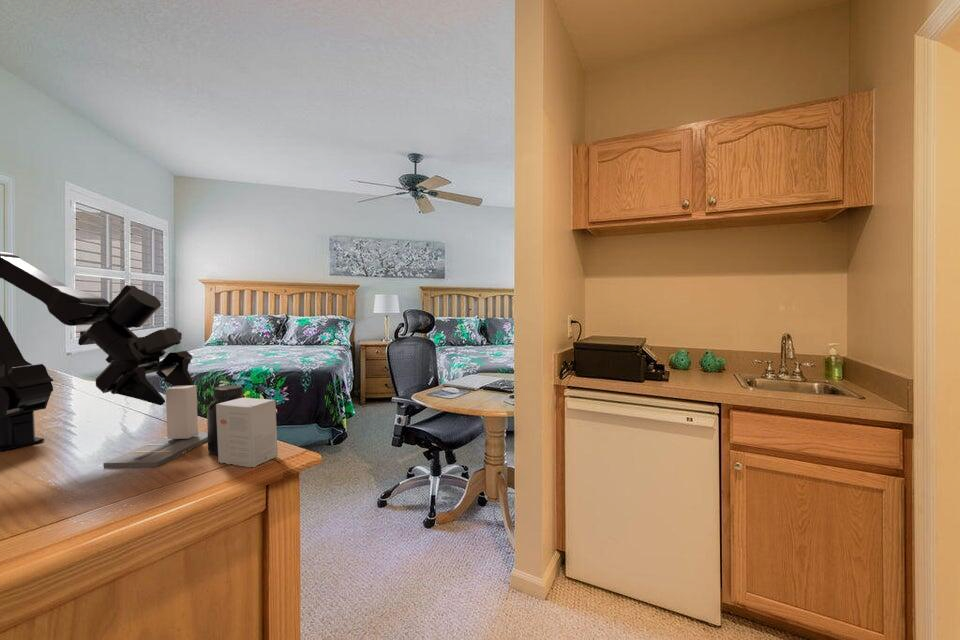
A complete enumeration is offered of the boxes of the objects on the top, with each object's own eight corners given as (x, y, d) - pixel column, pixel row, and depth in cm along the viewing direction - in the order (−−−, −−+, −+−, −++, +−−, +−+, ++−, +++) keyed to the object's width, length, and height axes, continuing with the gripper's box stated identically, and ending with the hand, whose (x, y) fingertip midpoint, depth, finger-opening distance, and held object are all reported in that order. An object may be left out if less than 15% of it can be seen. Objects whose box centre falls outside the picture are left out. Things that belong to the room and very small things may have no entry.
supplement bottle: (230, 457, 75) (228, 391, 75) (198, 455, 77) (196, 390, 76) (258, 444, 82) (256, 384, 82) (228, 442, 83) (226, 383, 83)
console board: (174, 436, 88) (174, 428, 88) (217, 435, 88) (217, 428, 88) (103, 467, 71) (103, 458, 71) (157, 466, 71) (156, 457, 71)
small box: (278, 457, 75) (276, 399, 75) (252, 468, 70) (250, 406, 70) (244, 452, 78) (243, 396, 77) (217, 463, 73) (215, 403, 72)
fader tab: (178, 434, 85) (176, 385, 85) (197, 433, 85) (196, 385, 85) (167, 438, 82) (165, 388, 82) (188, 438, 82) (186, 388, 82)
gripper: (108, 316, 74) (174, 377, 74) (181, 314, 92) (234, 362, 93) (65, 361, 74) (131, 422, 74) (147, 350, 92) (200, 398, 93)
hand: (180, 398), depth 84 cm, fingers open, 9 cm apart
